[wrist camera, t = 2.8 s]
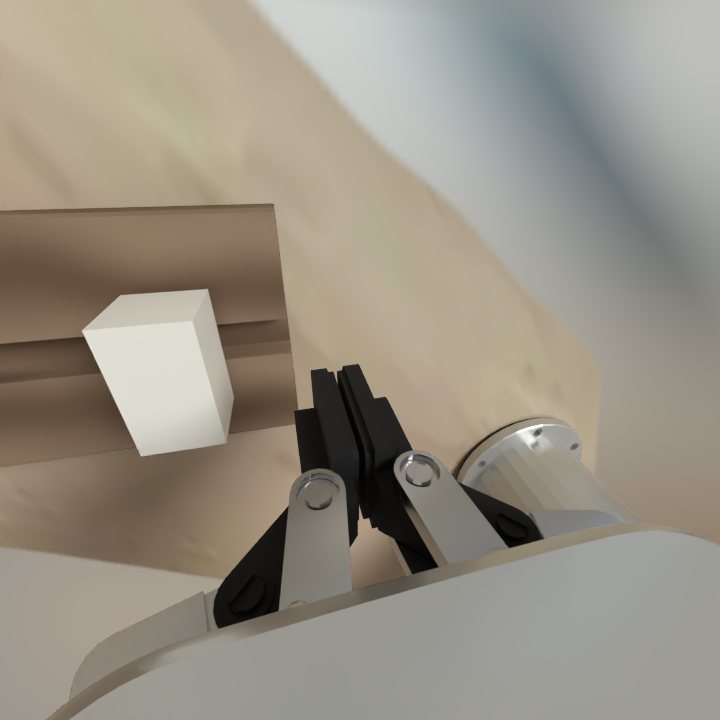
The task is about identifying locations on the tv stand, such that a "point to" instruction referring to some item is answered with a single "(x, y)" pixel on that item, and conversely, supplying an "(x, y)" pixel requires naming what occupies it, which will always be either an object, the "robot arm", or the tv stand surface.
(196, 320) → the fader knob
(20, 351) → the fader console
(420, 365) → the tv stand surface
